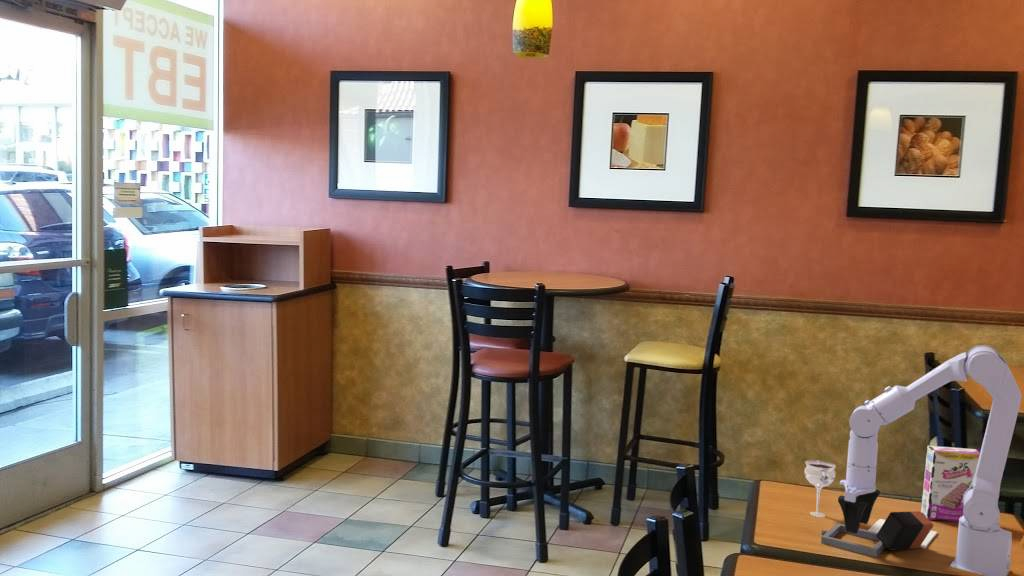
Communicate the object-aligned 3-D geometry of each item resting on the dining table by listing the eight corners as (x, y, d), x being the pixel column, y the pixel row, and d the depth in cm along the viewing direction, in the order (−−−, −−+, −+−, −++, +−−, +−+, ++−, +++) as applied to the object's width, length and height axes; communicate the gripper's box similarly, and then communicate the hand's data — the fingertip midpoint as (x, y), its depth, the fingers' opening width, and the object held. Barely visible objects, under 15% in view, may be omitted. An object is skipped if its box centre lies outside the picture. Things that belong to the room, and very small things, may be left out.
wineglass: (799, 517, 201) (803, 465, 200) (802, 508, 207) (806, 458, 206) (831, 522, 198) (835, 470, 197) (833, 513, 204) (837, 462, 203)
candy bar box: (927, 520, 202) (933, 450, 201) (920, 513, 207) (925, 444, 206) (979, 524, 201) (985, 453, 200) (969, 517, 206) (975, 448, 205)
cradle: (890, 542, 187) (890, 535, 187) (876, 557, 178) (876, 550, 178) (830, 528, 194) (830, 521, 194) (813, 541, 185) (814, 534, 185)
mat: (937, 533, 194) (937, 531, 194) (924, 548, 184) (924, 546, 184) (879, 520, 201) (879, 518, 201) (865, 534, 191) (865, 532, 191)
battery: (889, 551, 180) (921, 549, 184) (905, 526, 177) (938, 524, 182) (874, 536, 183) (907, 534, 188) (890, 511, 180) (922, 509, 185)
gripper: (852, 453, 192) (847, 514, 193) (831, 467, 181) (826, 531, 182) (886, 459, 188) (881, 522, 189) (867, 474, 177) (862, 540, 178)
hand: (856, 527), depth 185 cm, fingers open, 7 cm apart
